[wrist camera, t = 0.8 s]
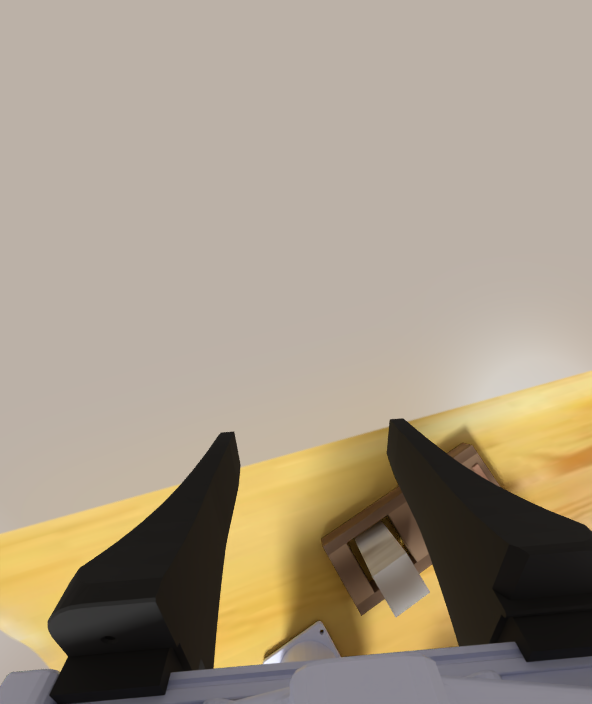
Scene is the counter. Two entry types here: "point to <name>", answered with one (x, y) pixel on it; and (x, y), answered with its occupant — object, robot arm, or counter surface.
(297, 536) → the counter surface
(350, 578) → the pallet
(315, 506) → the counter surface
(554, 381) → the counter surface
